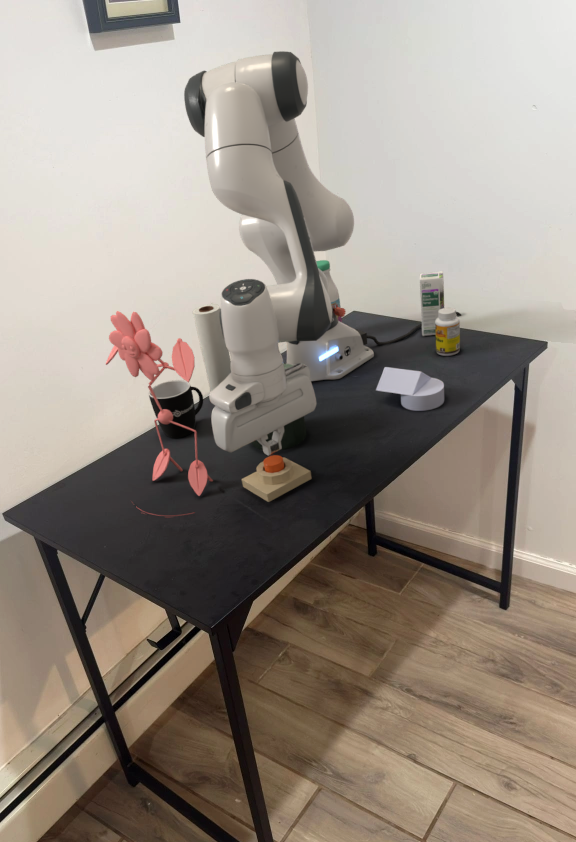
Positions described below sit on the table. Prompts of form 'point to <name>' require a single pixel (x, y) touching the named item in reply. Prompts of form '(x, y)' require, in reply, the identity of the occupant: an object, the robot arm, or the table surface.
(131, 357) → the figurine
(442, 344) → the supplement bottle
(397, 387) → the wedge on round base
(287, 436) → the dark green cylinder
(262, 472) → the switch base
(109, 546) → the table surface
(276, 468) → the power button
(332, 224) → the robot arm
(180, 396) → the mug
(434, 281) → the syrup box
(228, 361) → the paper towel roll
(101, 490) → the table surface
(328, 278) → the milk bottle
